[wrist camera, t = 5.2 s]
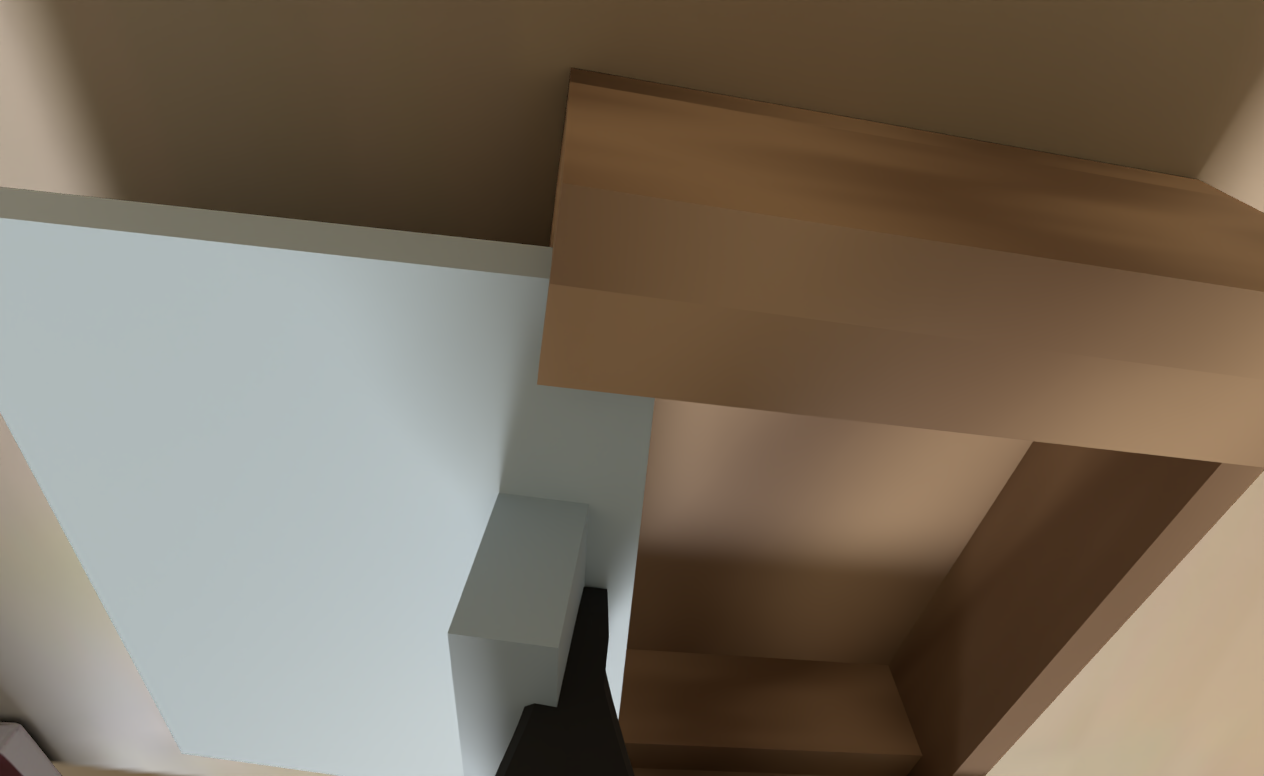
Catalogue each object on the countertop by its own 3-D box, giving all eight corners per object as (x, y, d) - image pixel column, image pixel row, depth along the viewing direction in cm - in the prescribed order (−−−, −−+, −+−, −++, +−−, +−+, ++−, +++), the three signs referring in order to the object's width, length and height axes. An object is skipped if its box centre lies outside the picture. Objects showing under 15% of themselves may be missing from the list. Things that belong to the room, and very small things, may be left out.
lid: (670, 259, 8) (649, 415, 6) (612, 772, 15) (591, 947, 12) (-47, 181, 9) (-354, 297, 6) (205, 716, 15) (104, 876, 13)
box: (1198, 179, 11) (1485, 325, 8) (874, 683, 19) (940, 872, 16) (571, 66, 10) (561, 183, 6) (498, 661, 18) (476, 864, 14)
